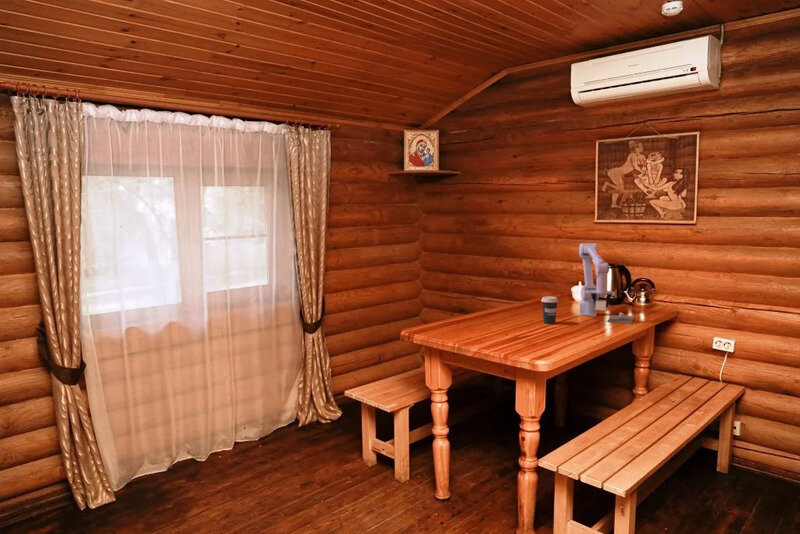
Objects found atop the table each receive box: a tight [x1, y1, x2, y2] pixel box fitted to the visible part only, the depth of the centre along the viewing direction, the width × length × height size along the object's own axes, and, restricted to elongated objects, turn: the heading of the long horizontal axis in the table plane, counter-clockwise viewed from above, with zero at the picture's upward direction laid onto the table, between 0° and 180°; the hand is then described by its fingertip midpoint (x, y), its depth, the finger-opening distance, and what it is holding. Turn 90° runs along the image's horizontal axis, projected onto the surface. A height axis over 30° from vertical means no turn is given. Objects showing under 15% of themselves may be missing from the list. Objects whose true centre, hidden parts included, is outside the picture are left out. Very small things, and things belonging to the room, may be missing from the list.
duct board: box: [607, 312, 635, 325], centre depth 336 cm, size 13×18×4 cm
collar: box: [595, 299, 608, 311], centre depth 333 cm, size 6×6×5 cm
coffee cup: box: [540, 295, 559, 325], centre depth 331 cm, size 10×10×15 cm
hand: (601, 306), depth 333 cm, fingers closed on collar, 6 cm apart
